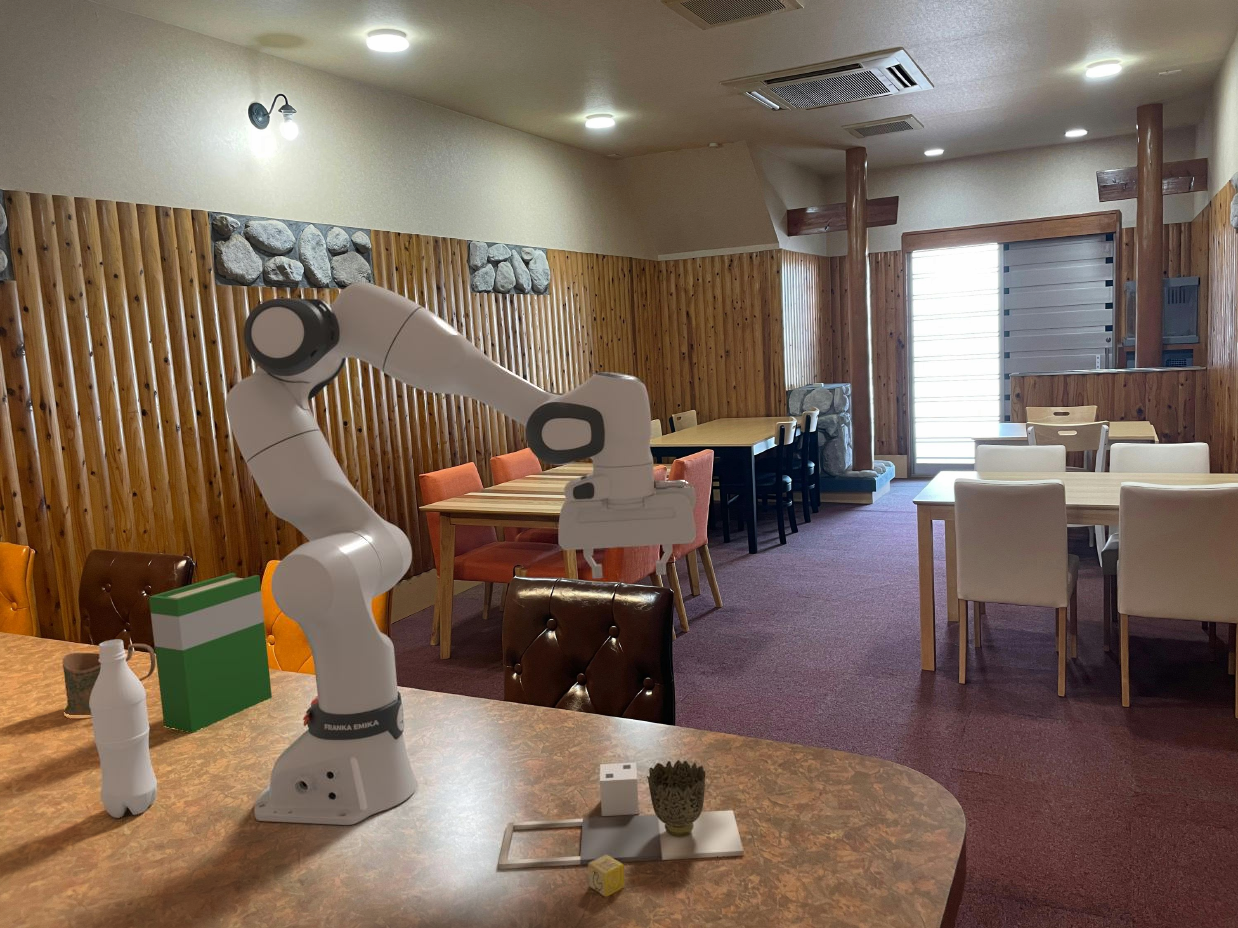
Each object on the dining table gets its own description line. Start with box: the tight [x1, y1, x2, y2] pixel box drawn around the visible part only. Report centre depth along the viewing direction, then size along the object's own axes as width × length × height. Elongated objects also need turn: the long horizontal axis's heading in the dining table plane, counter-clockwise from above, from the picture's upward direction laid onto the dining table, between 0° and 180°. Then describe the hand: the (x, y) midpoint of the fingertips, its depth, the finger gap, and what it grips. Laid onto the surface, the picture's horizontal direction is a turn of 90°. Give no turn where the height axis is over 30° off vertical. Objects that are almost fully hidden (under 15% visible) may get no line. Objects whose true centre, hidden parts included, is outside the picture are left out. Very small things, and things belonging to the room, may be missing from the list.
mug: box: [62, 643, 156, 715], centre depth 174 cm, size 12×18×12 cm, turn 89°
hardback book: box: [148, 572, 273, 734], centre depth 168 cm, size 18×7×24 cm, turn 153°
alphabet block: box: [587, 855, 625, 898], centre depth 106 cm, size 3×3×3 cm
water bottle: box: [89, 639, 158, 819], centre depth 131 cm, size 7×7×25 cm
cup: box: [646, 759, 706, 837], centre depth 116 cm, size 8×7×8 cm
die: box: [599, 761, 640, 817], centre depth 125 cm, size 5×5×5 cm
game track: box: [498, 809, 745, 870], centre depth 116 cm, size 30×10×1 cm, turn 90°
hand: (629, 575), depth 135 cm, fingers open, 8 cm apart
